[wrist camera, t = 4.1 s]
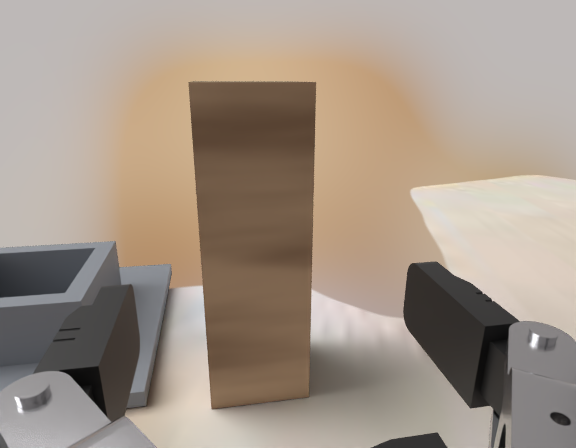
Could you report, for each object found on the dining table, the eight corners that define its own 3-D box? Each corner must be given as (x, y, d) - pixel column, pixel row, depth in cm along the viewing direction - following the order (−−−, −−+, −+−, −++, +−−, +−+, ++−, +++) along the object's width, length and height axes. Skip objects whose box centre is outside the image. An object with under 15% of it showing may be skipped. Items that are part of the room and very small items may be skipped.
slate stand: (-32, 287, 30) (-47, 235, 29) (171, 273, 32) (167, 224, 31) (-218, 449, 17) (-260, 366, 16) (146, 405, 19) (136, 330, 18)
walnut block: (211, 349, 23) (193, 81, 19) (291, 341, 24) (292, 81, 19) (211, 409, 19) (188, 82, 15) (308, 397, 20) (315, 82, 15)
